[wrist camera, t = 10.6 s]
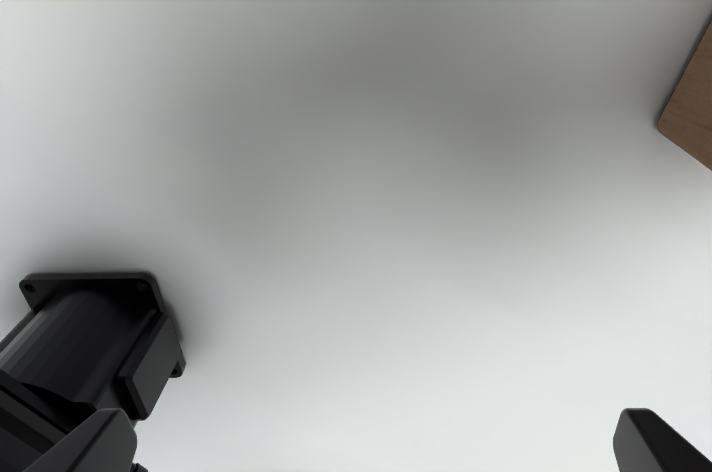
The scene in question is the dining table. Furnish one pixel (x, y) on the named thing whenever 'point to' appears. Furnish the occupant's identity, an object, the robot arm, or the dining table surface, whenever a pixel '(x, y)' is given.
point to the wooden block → (692, 106)
